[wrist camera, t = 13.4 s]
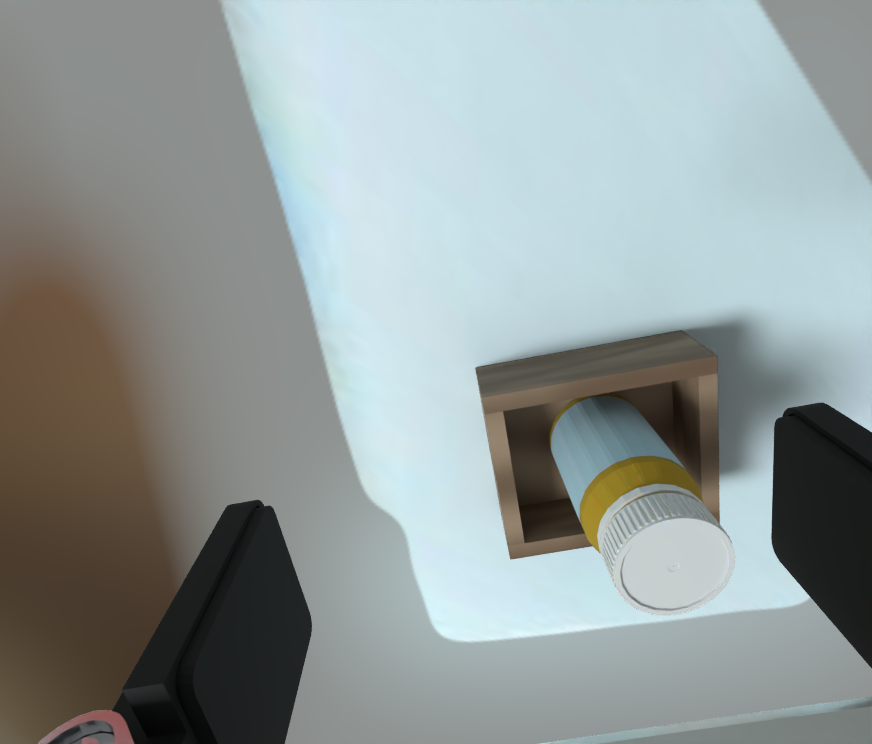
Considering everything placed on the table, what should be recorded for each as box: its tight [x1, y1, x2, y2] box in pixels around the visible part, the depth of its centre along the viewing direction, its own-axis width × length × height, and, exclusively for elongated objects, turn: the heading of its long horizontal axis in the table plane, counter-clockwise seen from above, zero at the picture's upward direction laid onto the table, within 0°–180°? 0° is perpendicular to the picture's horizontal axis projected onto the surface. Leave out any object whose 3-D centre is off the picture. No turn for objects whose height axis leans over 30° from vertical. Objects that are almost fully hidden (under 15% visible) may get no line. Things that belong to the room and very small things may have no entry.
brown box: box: [476, 330, 720, 559], centre depth 41 cm, size 13×15×6 cm
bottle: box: [550, 393, 735, 615], centre depth 36 cm, size 7×7×15 cm
